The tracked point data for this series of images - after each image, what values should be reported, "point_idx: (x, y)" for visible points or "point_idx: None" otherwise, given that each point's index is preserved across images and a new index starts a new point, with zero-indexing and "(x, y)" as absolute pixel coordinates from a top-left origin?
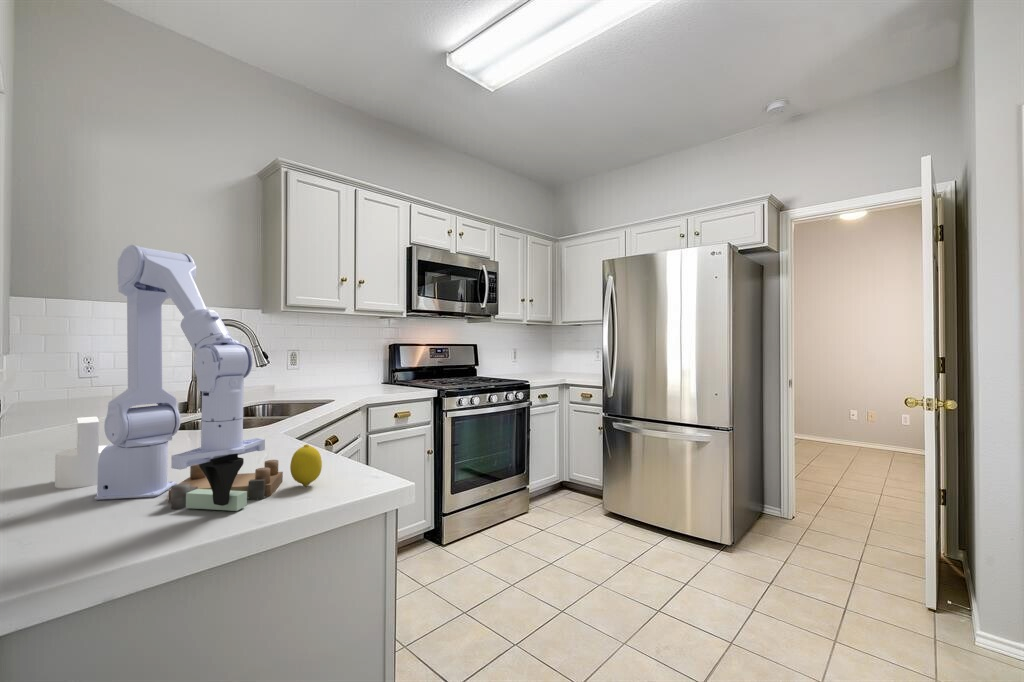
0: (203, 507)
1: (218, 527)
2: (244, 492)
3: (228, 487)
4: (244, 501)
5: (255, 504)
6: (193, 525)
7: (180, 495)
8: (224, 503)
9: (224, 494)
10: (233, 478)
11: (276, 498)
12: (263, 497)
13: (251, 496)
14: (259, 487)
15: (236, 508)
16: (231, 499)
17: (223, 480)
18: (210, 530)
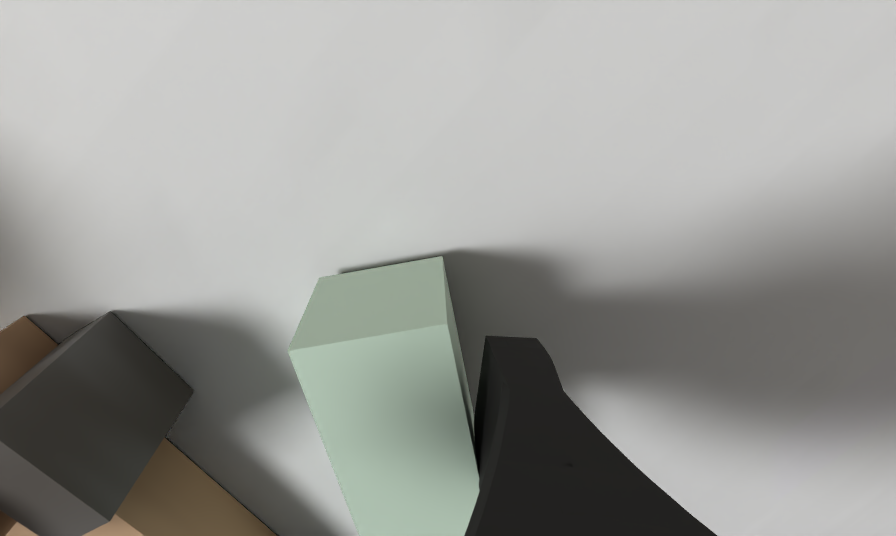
0: None
1: (753, 115)
2: (328, 344)
3: (545, 430)
4: (342, 295)
5: (231, 270)
6: (726, 315)
7: None
8: (529, 342)
9: (562, 392)
10: (514, 506)
11: (22, 227)
12: (100, 318)
13: (165, 392)
14: (69, 401)
15: (443, 267)
16: (456, 350)
17: (695, 522)
18: (818, 120)
